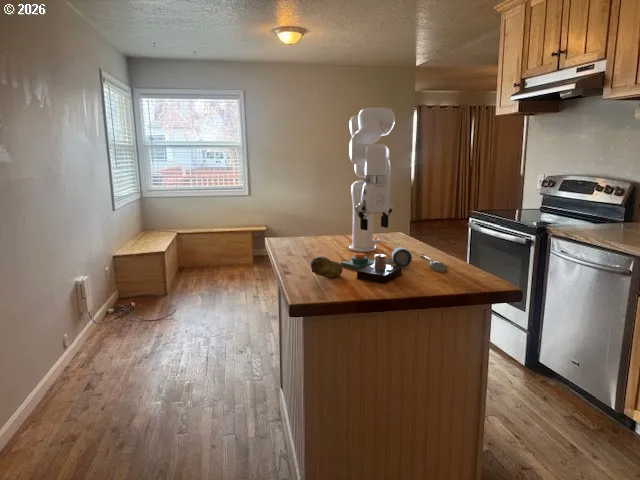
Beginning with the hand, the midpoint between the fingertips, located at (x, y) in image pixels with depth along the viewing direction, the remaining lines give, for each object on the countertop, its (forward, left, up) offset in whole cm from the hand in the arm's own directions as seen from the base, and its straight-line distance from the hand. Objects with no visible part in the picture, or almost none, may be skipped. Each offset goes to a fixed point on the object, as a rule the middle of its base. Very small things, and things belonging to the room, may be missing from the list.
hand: (374, 228), depth 157 cm
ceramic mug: (-17, -5, -18) cm, 25 cm away
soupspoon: (-31, +1, -18) cm, 35 cm away
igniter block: (-5, -14, -18) cm, 23 cm away
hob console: (-1, +2, -18) cm, 18 cm away
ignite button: (-5, -14, -15) cm, 21 cm away
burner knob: (-1, +2, -15) cm, 15 cm away
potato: (+15, -8, -18) cm, 25 cm away
